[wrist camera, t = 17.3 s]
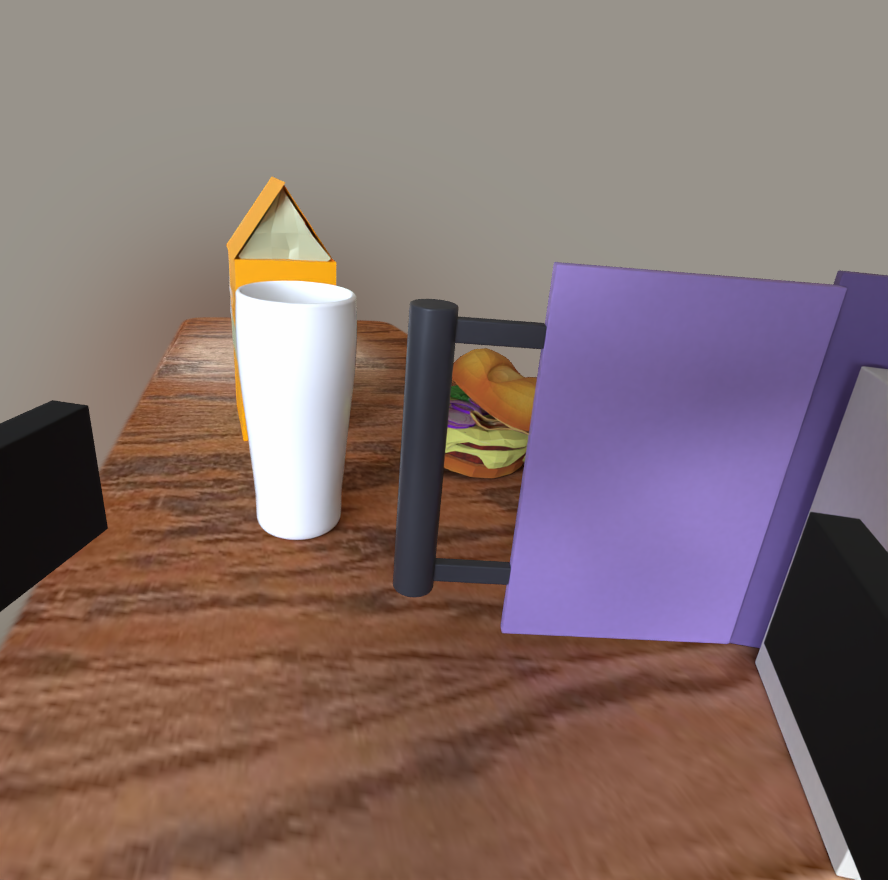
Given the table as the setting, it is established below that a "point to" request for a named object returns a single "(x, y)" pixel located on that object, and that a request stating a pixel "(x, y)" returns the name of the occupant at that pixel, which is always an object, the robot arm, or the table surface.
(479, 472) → the cheeseburger
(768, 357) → the folder cover
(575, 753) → the table surface
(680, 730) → the table surface
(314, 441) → the drinking glass
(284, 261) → the orange juice
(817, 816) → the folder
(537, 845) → the table surface
